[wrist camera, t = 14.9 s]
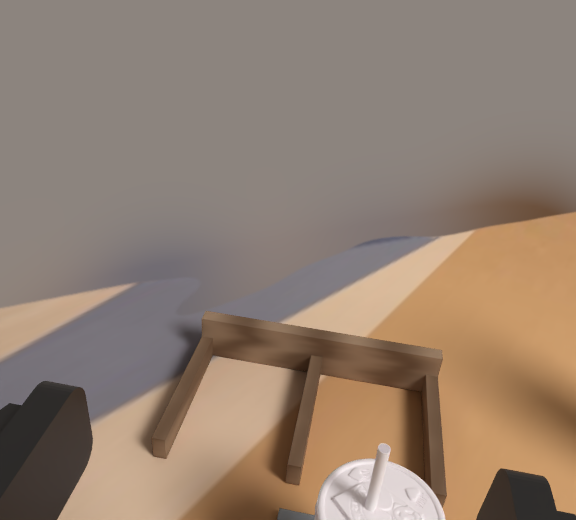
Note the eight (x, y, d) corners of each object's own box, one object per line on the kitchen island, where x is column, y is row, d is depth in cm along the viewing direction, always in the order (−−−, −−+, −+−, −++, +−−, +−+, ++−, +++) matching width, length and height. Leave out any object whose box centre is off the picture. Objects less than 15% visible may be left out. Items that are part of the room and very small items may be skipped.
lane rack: (153, 456, 41) (149, 418, 39) (206, 345, 52) (205, 310, 50) (440, 513, 39) (453, 476, 36) (432, 384, 50) (441, 350, 47)
